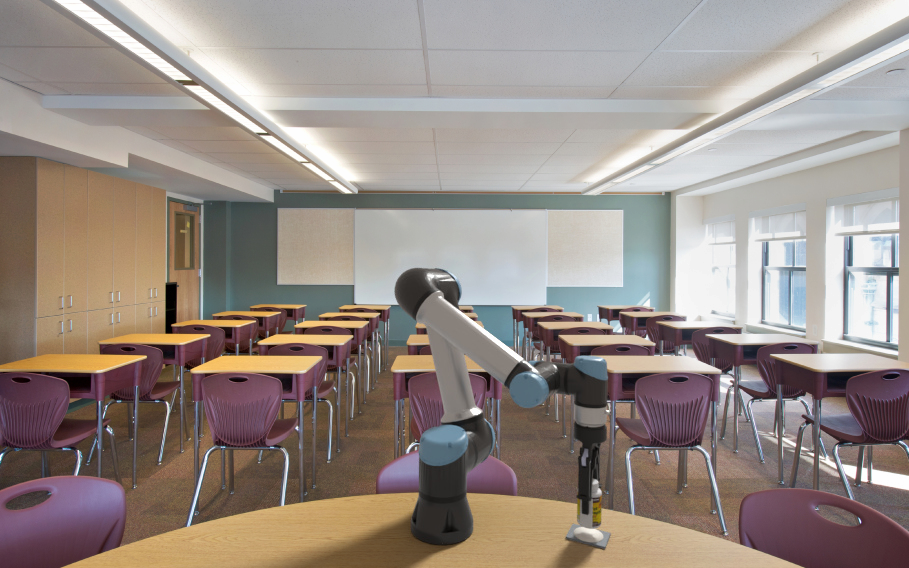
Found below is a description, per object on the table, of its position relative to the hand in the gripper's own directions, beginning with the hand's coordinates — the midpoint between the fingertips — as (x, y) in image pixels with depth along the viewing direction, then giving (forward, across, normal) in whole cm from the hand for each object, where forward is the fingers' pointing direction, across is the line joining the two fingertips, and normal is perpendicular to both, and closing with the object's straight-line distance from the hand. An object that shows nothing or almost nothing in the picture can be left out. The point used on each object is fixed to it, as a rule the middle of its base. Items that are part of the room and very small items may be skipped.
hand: (588, 520), depth 113 cm
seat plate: (+4, 0, 0) cm, 4 cm away
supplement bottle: (+1, 0, 0) cm, 1 cm away
